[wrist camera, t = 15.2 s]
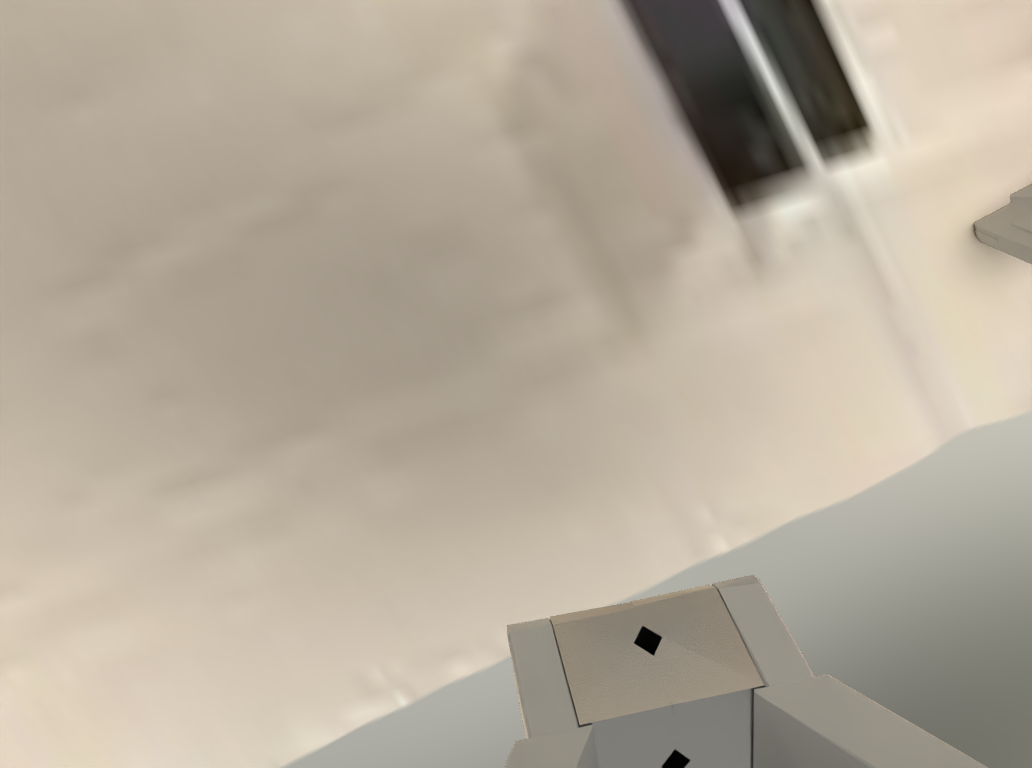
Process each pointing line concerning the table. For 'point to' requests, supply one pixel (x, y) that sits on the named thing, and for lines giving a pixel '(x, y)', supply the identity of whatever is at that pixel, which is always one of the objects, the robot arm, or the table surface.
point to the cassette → (1010, 226)
